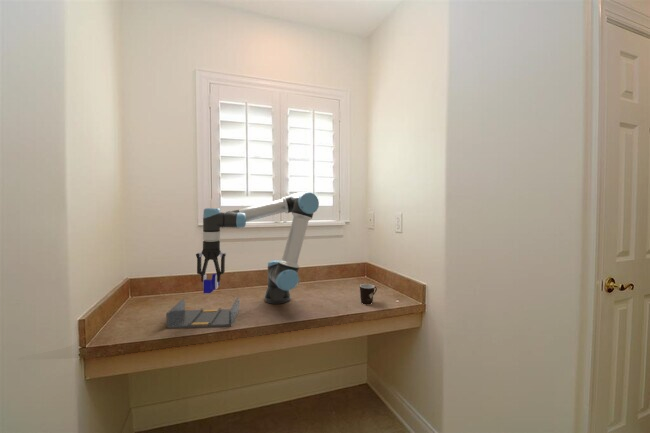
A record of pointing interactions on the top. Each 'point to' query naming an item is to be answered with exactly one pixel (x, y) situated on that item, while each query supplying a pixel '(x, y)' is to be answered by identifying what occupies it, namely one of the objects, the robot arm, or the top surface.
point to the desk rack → (201, 316)
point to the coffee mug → (367, 293)
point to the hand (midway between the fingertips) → (210, 288)
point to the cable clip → (209, 284)
